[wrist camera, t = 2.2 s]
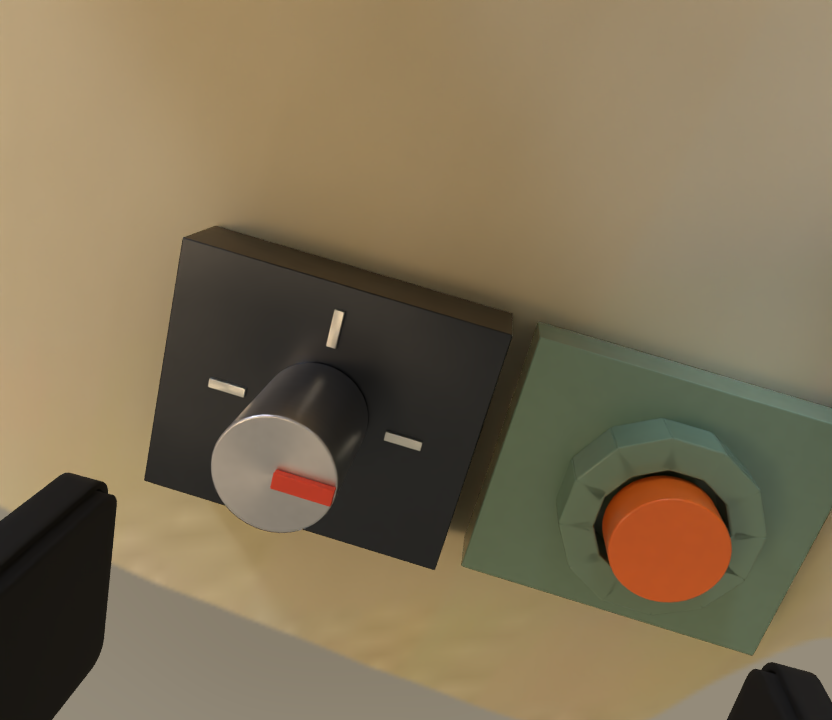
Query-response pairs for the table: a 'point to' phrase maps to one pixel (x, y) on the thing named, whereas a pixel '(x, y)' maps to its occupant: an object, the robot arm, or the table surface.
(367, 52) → the table surface
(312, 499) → the dial
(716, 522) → the button
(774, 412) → the button housing
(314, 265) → the control panel
